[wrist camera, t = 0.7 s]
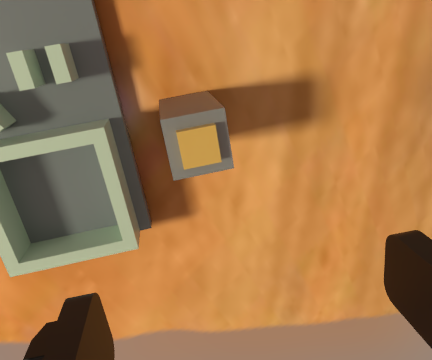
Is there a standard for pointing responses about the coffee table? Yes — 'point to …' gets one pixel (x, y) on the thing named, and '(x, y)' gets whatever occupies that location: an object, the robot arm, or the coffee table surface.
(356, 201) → the coffee table surface
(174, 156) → the block
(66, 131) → the end holder
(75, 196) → the board
